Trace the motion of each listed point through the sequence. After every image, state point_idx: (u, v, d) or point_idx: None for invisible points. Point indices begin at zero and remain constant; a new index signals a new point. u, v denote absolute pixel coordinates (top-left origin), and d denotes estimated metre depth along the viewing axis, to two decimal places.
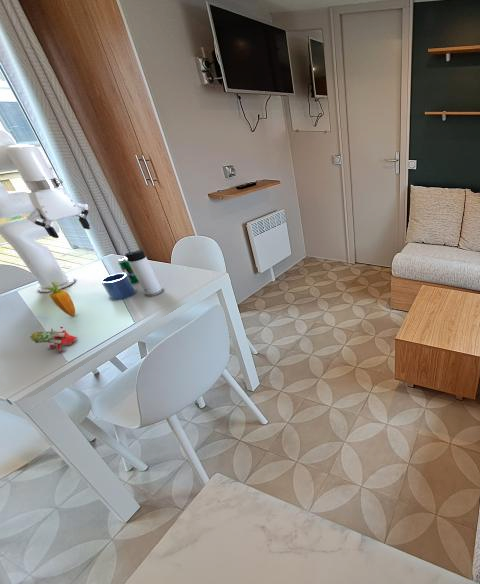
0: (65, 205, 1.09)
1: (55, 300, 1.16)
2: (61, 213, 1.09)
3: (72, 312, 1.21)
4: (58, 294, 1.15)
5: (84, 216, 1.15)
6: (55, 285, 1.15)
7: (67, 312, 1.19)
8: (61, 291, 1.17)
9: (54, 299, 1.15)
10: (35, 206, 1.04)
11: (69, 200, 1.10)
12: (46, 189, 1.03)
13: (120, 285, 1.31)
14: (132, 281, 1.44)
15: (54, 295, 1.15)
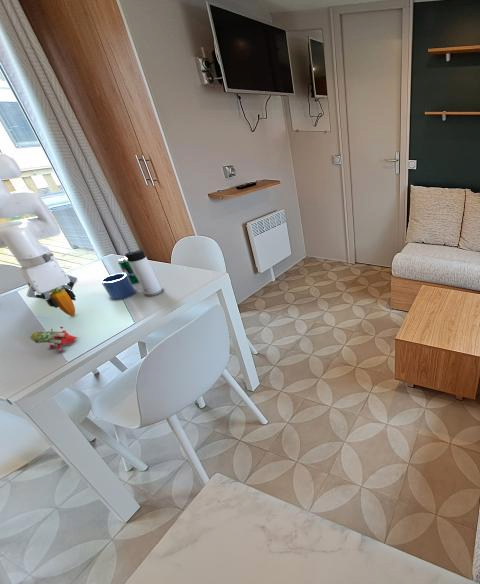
0: (56, 277, 1.14)
1: (55, 300, 1.16)
2: (52, 285, 1.13)
3: (72, 312, 1.21)
4: (58, 294, 1.15)
5: (70, 288, 1.19)
6: None
7: (67, 312, 1.19)
8: (61, 291, 1.17)
9: (54, 299, 1.15)
10: (26, 281, 1.09)
11: (60, 271, 1.15)
12: (37, 265, 1.08)
13: (120, 285, 1.31)
14: (132, 281, 1.44)
15: (54, 295, 1.15)
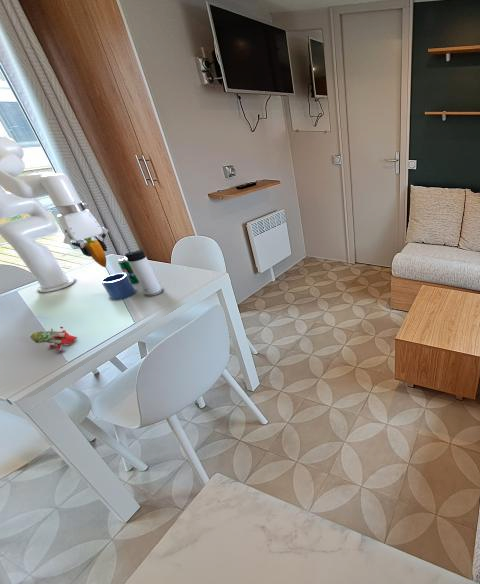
0: (90, 226, 1.20)
1: (89, 249, 1.21)
2: (86, 234, 1.19)
3: (104, 262, 1.26)
4: (92, 243, 1.21)
5: (102, 239, 1.25)
6: None
7: (99, 262, 1.25)
8: (94, 241, 1.23)
9: (88, 248, 1.21)
10: (64, 228, 1.15)
11: (93, 221, 1.20)
12: (74, 213, 1.14)
13: (120, 285, 1.31)
14: (132, 281, 1.44)
15: (88, 244, 1.21)
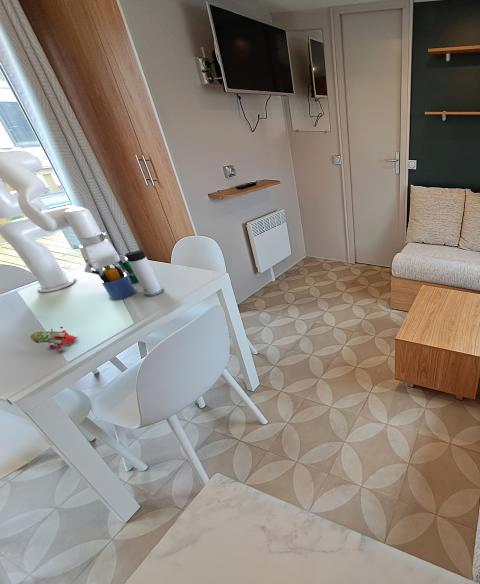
0: (109, 255, 1.27)
1: (107, 276, 1.29)
2: (105, 262, 1.26)
3: None
4: (110, 271, 1.29)
5: (119, 266, 1.32)
6: None
7: None
8: (112, 268, 1.30)
9: (106, 275, 1.28)
10: (85, 258, 1.22)
11: (112, 250, 1.28)
12: (95, 244, 1.21)
13: (120, 285, 1.31)
14: (132, 281, 1.44)
15: (107, 272, 1.28)
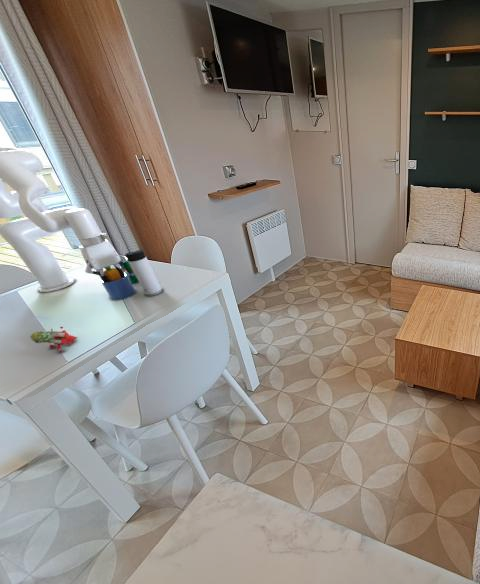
0: (109, 255, 1.27)
1: (108, 277, 1.29)
2: (106, 263, 1.26)
3: None
4: (111, 271, 1.29)
5: (120, 267, 1.32)
6: None
7: None
8: (113, 269, 1.30)
9: (107, 276, 1.29)
10: (85, 258, 1.22)
11: (112, 251, 1.28)
12: (95, 244, 1.21)
13: (120, 285, 1.31)
14: (132, 281, 1.44)
15: (107, 272, 1.28)
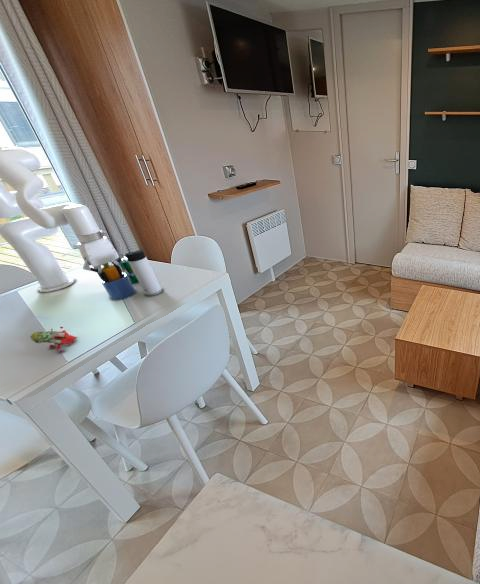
0: (107, 252, 1.26)
1: (106, 274, 1.28)
2: (104, 260, 1.26)
3: None
4: (109, 268, 1.28)
5: (118, 264, 1.31)
6: None
7: None
8: (111, 266, 1.29)
9: (105, 273, 1.28)
10: (83, 255, 1.21)
11: (110, 248, 1.27)
12: (93, 241, 1.20)
13: (120, 285, 1.31)
14: (132, 281, 1.44)
15: (105, 269, 1.27)
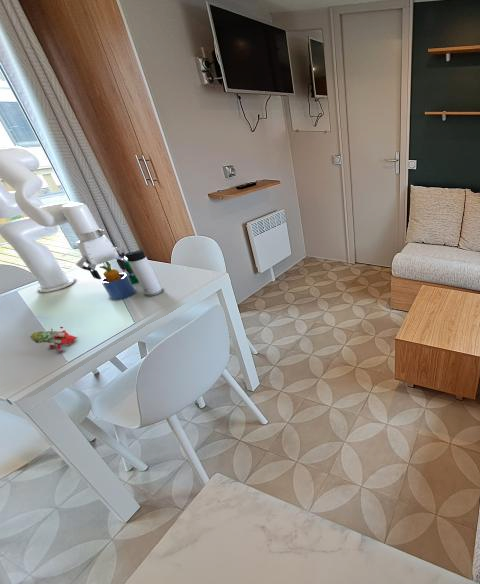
0: (107, 251, 1.26)
1: (108, 278, 1.29)
2: (103, 258, 1.25)
3: None
4: (111, 272, 1.29)
5: (121, 258, 1.32)
6: (109, 264, 1.28)
7: None
8: (113, 270, 1.30)
9: (108, 277, 1.29)
10: (83, 253, 1.21)
11: (110, 246, 1.27)
12: (92, 239, 1.20)
13: (120, 285, 1.31)
14: (132, 281, 1.44)
15: (108, 273, 1.28)
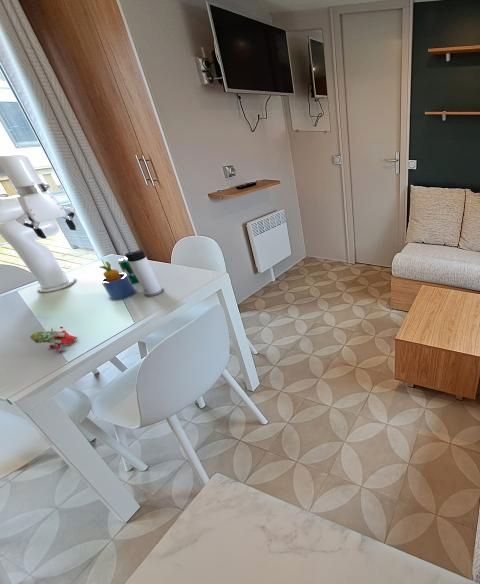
0: (52, 208, 1.18)
1: (108, 278, 1.29)
2: (48, 216, 1.18)
3: None
4: (111, 272, 1.29)
5: (70, 218, 1.24)
6: (109, 264, 1.28)
7: None
8: (113, 270, 1.30)
9: (108, 277, 1.29)
10: (24, 209, 1.13)
11: (56, 203, 1.19)
12: (34, 193, 1.12)
13: (120, 285, 1.31)
14: (132, 281, 1.44)
15: (108, 273, 1.28)
